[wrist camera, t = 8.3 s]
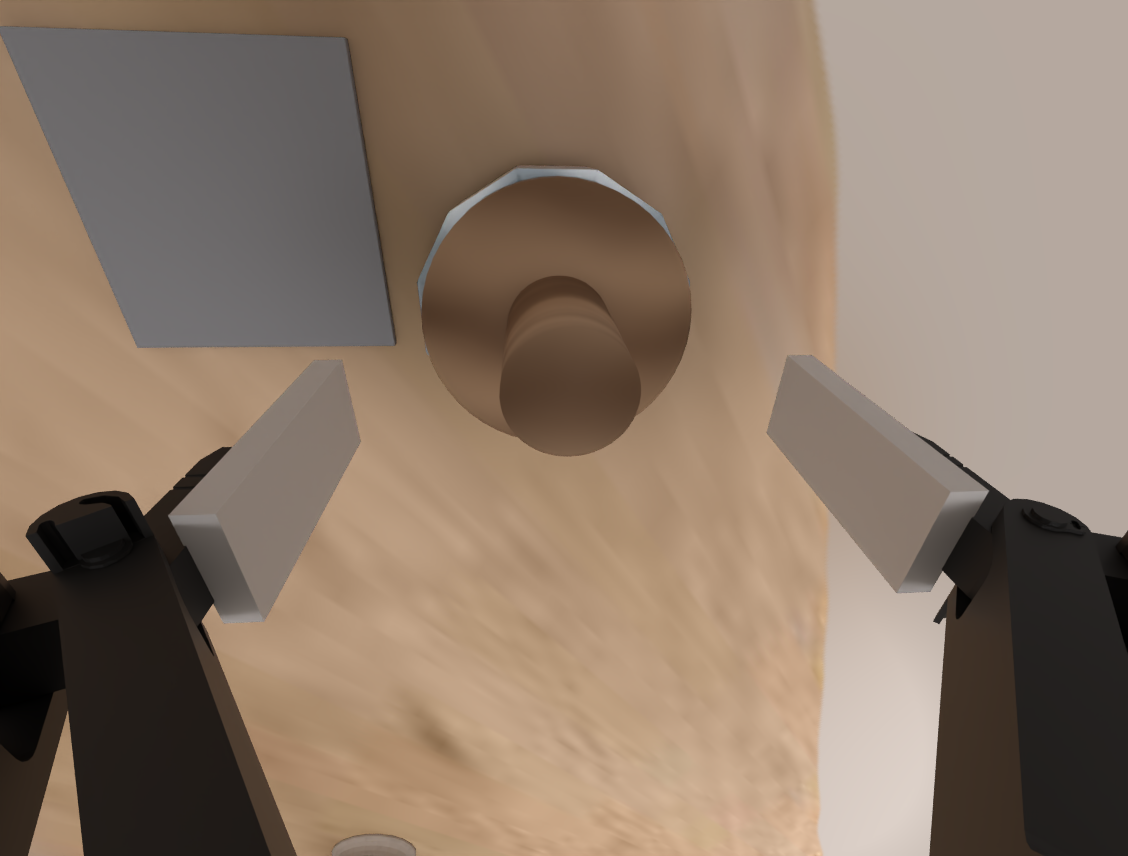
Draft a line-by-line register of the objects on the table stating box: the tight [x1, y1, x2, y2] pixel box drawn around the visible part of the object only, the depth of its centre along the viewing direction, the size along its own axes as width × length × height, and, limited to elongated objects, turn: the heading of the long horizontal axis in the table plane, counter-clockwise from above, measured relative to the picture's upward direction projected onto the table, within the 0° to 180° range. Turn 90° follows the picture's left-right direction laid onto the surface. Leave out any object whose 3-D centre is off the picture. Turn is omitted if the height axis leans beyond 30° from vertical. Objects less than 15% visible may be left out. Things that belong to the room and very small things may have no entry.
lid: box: [421, 176, 691, 456], centre depth 20 cm, size 12×12×8 cm
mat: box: [0, 26, 396, 348], centre depth 24 cm, size 14×14×1 cm
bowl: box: [417, 165, 690, 357], centre depth 25 cm, size 12×12×5 cm
